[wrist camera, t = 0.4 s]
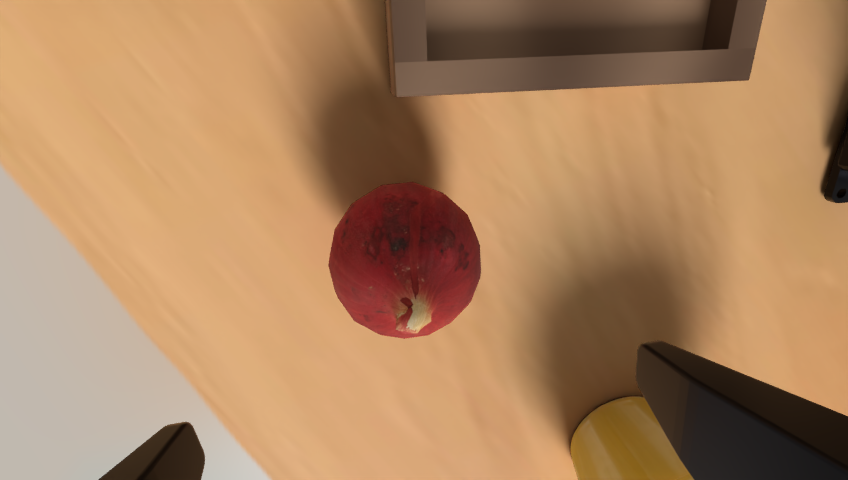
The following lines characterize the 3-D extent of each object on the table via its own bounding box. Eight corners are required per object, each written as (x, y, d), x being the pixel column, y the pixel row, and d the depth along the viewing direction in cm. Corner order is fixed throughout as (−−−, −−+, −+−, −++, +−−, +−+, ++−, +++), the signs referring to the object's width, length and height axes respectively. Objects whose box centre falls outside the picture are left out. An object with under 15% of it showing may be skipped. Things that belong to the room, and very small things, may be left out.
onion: (326, 174, 18) (295, 238, 11) (455, 158, 19) (509, 209, 11) (348, 291, 21) (335, 410, 13) (463, 274, 21) (514, 381, 14)
